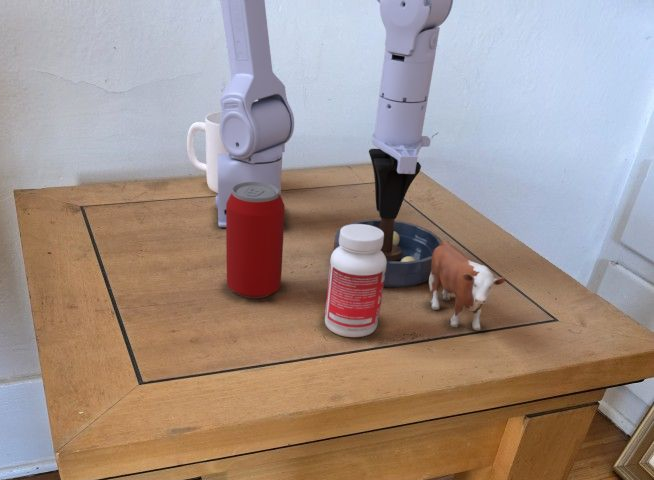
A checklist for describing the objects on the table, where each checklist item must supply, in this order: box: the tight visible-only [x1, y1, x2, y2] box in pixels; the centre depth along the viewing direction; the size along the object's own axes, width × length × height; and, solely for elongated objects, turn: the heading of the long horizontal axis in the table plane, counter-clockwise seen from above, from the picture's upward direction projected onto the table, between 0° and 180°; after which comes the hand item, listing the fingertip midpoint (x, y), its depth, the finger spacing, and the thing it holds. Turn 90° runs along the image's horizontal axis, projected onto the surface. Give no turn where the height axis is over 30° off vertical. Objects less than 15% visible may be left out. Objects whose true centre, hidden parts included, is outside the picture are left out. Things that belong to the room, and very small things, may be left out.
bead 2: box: [400, 256, 415, 262], centre depth 90 cm, size 2×2×2 cm
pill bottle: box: [324, 224, 387, 338], centre depth 77 cm, size 6×6×11 cm
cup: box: [186, 110, 228, 194], centre depth 110 cm, size 8×12×10 cm
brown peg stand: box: [380, 218, 402, 261], centre depth 91 cm, size 5×5×10 cm
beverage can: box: [225, 182, 285, 299], centre depth 83 cm, size 7×7×12 cm
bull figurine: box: [428, 241, 507, 332], centre depth 81 cm, size 4×13×8 cm, turn 13°
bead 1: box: [393, 231, 400, 246], centre depth 96 cm, size 2×2×2 cm
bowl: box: [332, 218, 443, 288], centre depth 92 cm, size 14×14×4 cm
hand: (386, 214), depth 91 cm, fingers closed on brown peg stand
